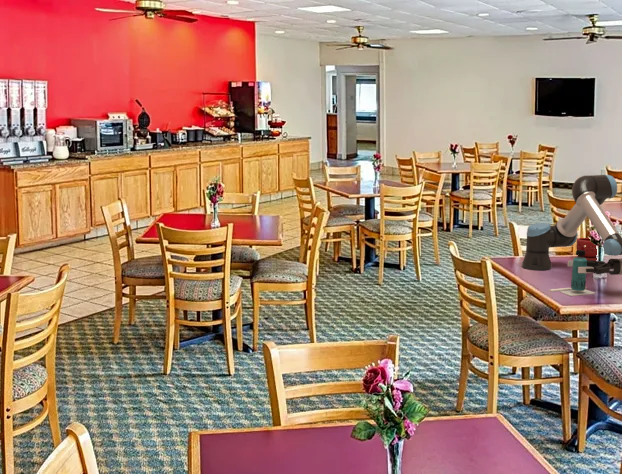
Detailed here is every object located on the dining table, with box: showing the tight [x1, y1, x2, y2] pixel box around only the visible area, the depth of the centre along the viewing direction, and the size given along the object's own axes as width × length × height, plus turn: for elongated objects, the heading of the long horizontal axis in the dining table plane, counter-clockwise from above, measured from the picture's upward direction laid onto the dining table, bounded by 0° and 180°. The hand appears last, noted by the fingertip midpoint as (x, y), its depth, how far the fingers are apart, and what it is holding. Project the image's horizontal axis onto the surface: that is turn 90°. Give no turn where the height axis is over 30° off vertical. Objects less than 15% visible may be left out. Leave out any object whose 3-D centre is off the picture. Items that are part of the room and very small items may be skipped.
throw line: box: [548, 286, 588, 293], centre depth 377 cm, size 2×20×1 cm, turn 110°
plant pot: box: [576, 237, 598, 261], centre depth 443 cm, size 13×13×12 cm
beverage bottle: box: [570, 249, 587, 291], centre depth 369 cm, size 6×7×20 cm
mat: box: [559, 288, 597, 297], centre depth 371 cm, size 8×14×1 cm, turn 110°
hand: (573, 266), depth 369 cm, fingers open, 13 cm apart
